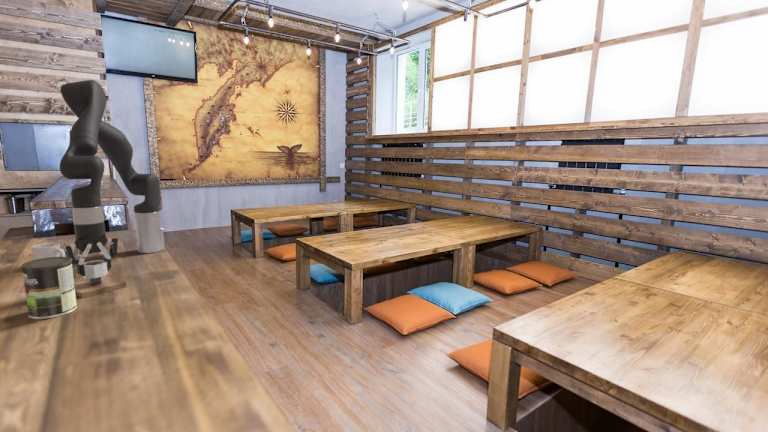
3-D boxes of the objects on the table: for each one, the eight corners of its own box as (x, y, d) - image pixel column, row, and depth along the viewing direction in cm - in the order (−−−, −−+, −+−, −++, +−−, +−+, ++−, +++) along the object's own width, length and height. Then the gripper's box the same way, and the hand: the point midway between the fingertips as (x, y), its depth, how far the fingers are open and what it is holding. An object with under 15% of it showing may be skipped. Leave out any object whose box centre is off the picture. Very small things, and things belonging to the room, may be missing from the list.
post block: (109, 279, 131) (107, 260, 130) (126, 286, 124) (124, 267, 123) (66, 289, 121) (63, 269, 120) (81, 298, 114) (79, 277, 113)
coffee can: (39, 323, 98) (31, 270, 96) (21, 314, 103) (13, 263, 100) (85, 308, 107) (79, 260, 105) (66, 301, 112) (60, 254, 109)
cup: (75, 263, 147) (72, 243, 146) (55, 269, 139) (52, 248, 138) (49, 262, 148) (46, 242, 147) (28, 268, 140) (25, 247, 139)
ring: (102, 271, 126) (101, 259, 125) (110, 274, 123) (109, 262, 122) (80, 275, 121) (78, 263, 120) (88, 279, 118) (86, 267, 117)
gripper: (110, 216, 127) (115, 265, 130) (55, 223, 115) (62, 276, 118) (120, 219, 123) (125, 269, 126) (64, 226, 111) (71, 281, 114)
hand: (95, 272), depth 122 cm, fingers closed on ring, 6 cm apart
